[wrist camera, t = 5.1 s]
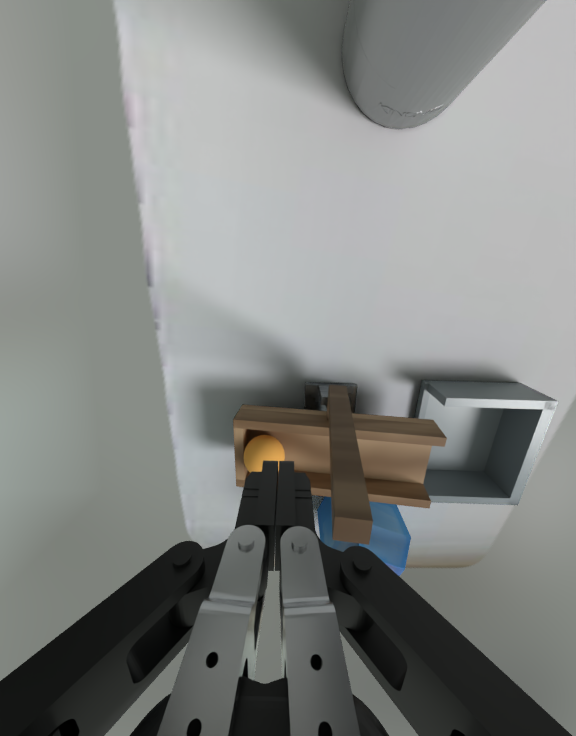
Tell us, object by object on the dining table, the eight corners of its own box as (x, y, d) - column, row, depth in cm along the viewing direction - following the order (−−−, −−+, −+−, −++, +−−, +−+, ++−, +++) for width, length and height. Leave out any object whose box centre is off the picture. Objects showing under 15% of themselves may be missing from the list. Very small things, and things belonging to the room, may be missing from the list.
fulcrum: (305, 382, 27) (306, 396, 24) (355, 384, 27) (363, 398, 24) (301, 465, 30) (302, 487, 27) (346, 467, 30) (352, 488, 27)
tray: (421, 380, 27) (443, 397, 23) (520, 383, 26) (558, 401, 23) (403, 473, 30) (418, 502, 27) (489, 476, 30) (518, 505, 26)
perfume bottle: (388, 487, 31) (443, 610, 20) (363, 525, 33) (400, 656, 22) (339, 470, 30) (367, 587, 19) (317, 509, 32) (330, 637, 21)
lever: (241, 373, 24) (141, 492, 11) (440, 386, 23) (609, 550, 9) (244, 466, 28) (171, 643, 14) (418, 484, 26) (518, 708, 13)
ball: (248, 425, 25) (238, 449, 22) (286, 428, 25) (282, 452, 21) (248, 458, 26) (239, 485, 23) (286, 461, 26) (282, 489, 23)
